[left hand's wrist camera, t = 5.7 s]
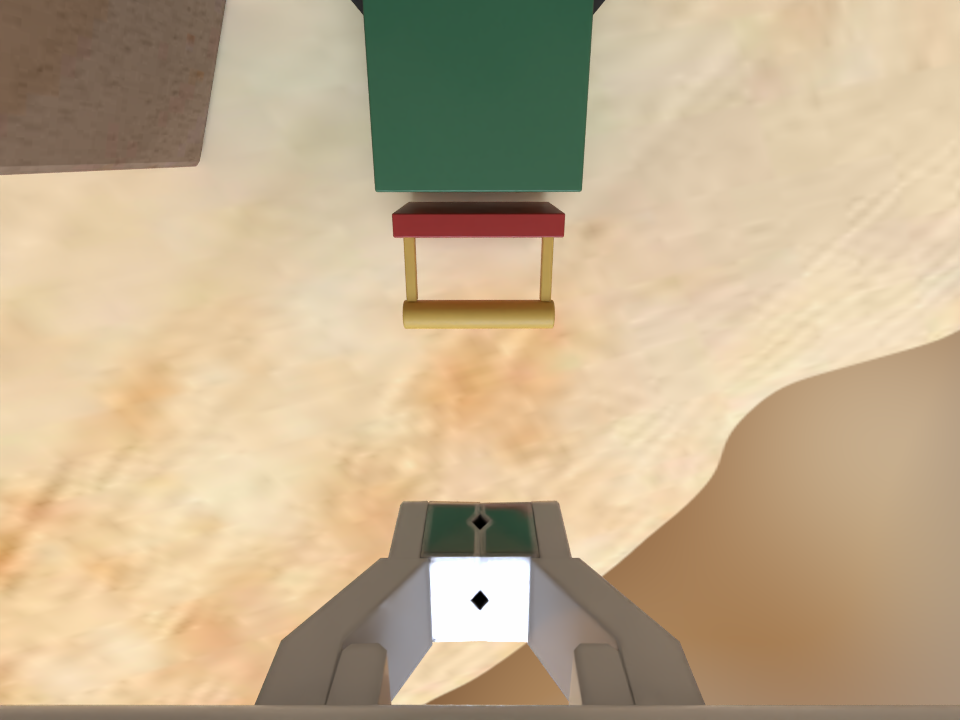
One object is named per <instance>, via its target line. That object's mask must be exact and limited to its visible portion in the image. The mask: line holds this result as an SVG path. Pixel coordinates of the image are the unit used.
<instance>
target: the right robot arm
mask: <svg viewBox="0 0 960 720" xmlns="http://www.w3.org/2000/svg"><path fill="white" fill-rule="evenodd" d="M351 1H352V2H353V3H354V4H355V6H356V7H357V8H358V9H359V10H360V12H361V13H362V14H363V0H351ZM604 1H605V0H594V5H593V14H594V13H595V12H596V11H597V9H598V8H599V7H600V6H601V5H602V3H603V2H604Z"/></svg>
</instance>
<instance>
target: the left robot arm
mask: <svg viewBox="0 0 960 720" xmlns="http://www.w3.org/2000/svg"><path fill="white" fill-rule="evenodd" d="M479 640H480V641H515V642H528V645H529V647H530V648H531V649H532V651H533V652H534V654H535V655H536V656H537V658H538V659H539V660H540V662H541V663H542V665H543V666H544V667H545V669H546V670H547V672H548V673H549V674H550V676H551V677H552V678H553V680H554V681H555V683H556V684H557V685H558V687H559V688H560V690H561V691H562V692H563V694H564V695H565V697H566V698H567V699H568V701H569V705H391V701H392V700H393V698H394V697H395V696H396V694H397V693H398V691H399V690H400V689H401V687H402V686H403V685H404V683H405V682H406V680H407V679H408V678H409V676H410V675H411V673H412V672H413V671H414V669H415V668H416V667H417V665H418V664H419V662H420V661H421V660H422V658H423V657H424V656H425V654H426V653H427V651H428V650H429V649H430V647H431V646H432V642H445V641H479ZM0 720H960V705H705V703H704V700H703V698H702V696H701V693H700V691H699V688H698V686H697V683H696V681H695V678H694V676H693V674H692V671H691V669H690V666H689V664H688V661H687V659H686V656H685V654H684V651H683V649H682V647H681V644H680V642H679V641H678V640H677V639H676V638H675V637H673V636H672V635H671V634H670V633H668V632H667V631H666V630H665V629H664V628H663V627H661V626H660V625H659V624H658V623H657V622H655V621H654V620H653V619H652V618H650V617H649V616H648V615H647V614H646V613H645V612H643V611H642V610H641V609H640V608H639V607H637V606H636V605H635V604H634V603H633V602H631V601H630V600H629V599H628V598H627V597H625V596H624V595H623V594H622V593H621V592H619V591H618V590H617V589H616V588H615V587H613V586H612V585H611V584H610V583H609V582H607V581H606V580H605V579H604V578H603V577H602V576H600V575H599V574H598V573H597V572H596V571H594V570H593V569H592V568H591V567H590V566H588V565H587V564H586V563H585V562H584V561H582V560H581V559H580V558H572V557H571V553H570V548H569V544H568V540H567V535H566V531H565V527H564V522H563V518H562V514H561V509H560V505H559V503H558V502H557V501H531V502H505V503H480V502H448V501H429V502H428V501H403V502H402V504H401V505H400V509H399V513H398V518H397V522H396V526H395V531H394V535H393V539H392V544H391V548H390V553H389V557H388V558H380V559H379V560H378V561H376V562H375V563H374V564H373V565H372V566H370V567H369V568H368V569H367V570H366V571H364V572H363V573H362V574H361V575H360V576H358V577H357V578H356V579H355V580H354V581H352V582H351V583H350V584H349V585H348V586H346V587H345V588H344V589H343V590H342V591H340V592H339V593H338V594H337V595H336V596H334V597H333V598H332V599H331V600H330V601H328V602H327V603H326V604H325V605H324V606H322V607H321V608H320V609H319V610H318V611H316V612H315V613H314V614H313V615H312V616H310V617H309V618H308V619H307V620H306V621H304V622H303V623H302V624H301V625H300V626H298V627H297V628H296V629H295V630H293V631H292V632H291V633H290V634H289V635H287V636H286V637H285V638H284V639H283V640H281V642H280V645H279V647H278V650H277V652H276V654H275V657H274V659H273V662H272V664H271V667H270V669H269V671H268V674H267V676H266V679H265V681H264V683H263V686H262V688H261V691H260V693H259V696H258V698H257V700H256V703H255V705H0Z"/></svg>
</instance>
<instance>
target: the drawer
mask: <svg viewBox="0 0 960 720" xmlns="http://www.w3.org/2000/svg"><path fill="white" fill-rule="evenodd" d="M392 222H393V236H394V237H395V238H404V256H405V276H406V295H407V300H405V301H404V304H403V324H404V327H405V328H406V329H486V328H553V326H554V320H555V307H554V302H553V300H551V284H552V263H553V242H554V237H564V225H565V214H564V213H563V212H562V211H560V210H559V209H557V208H556V207H555V206H553V205H552V204H550V203H549V202H409V203H407V204H406V205H404V206H403V207H401V208H400V209H399V210H397V211H396V212H394V213H393V214H392ZM437 237H542V251H541V276H540V300H417V299H418V290H417V267H416V244H415V238H437Z"/></svg>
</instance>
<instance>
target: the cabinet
mask: <svg viewBox="0 0 960 720" xmlns="http://www.w3.org/2000/svg"><path fill="white" fill-rule="evenodd" d="M593 5H594V0H363V15H364V30H365V45H366V60H367V75H368V89H369V104H370V119H371V134H372V149H373V164H374V179H375V190H376V192H580V191H581V190H582V178H583V163H584V147H585V131H586V115H587V100H588V84H589V68H590V52H591V36H592V21H593Z"/></svg>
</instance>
